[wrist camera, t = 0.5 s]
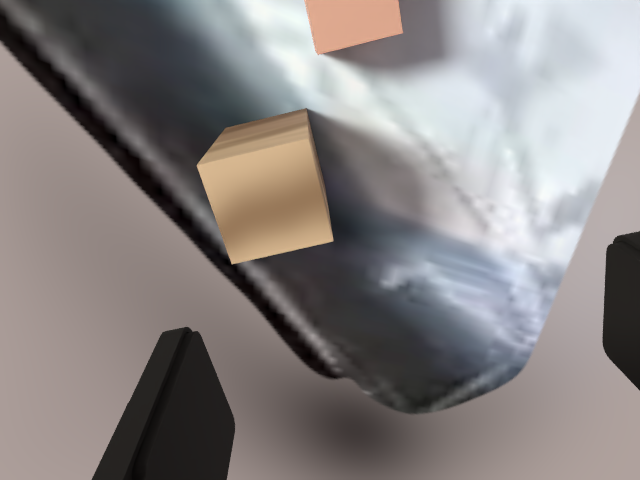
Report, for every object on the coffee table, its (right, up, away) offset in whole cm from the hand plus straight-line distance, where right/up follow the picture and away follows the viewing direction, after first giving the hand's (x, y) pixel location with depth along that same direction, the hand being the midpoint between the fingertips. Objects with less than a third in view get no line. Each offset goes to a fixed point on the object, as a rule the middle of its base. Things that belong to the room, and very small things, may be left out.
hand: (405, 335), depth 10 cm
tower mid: (-5, +6, +19) cm, 21 cm away
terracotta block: (0, +18, +19) cm, 26 cm away
